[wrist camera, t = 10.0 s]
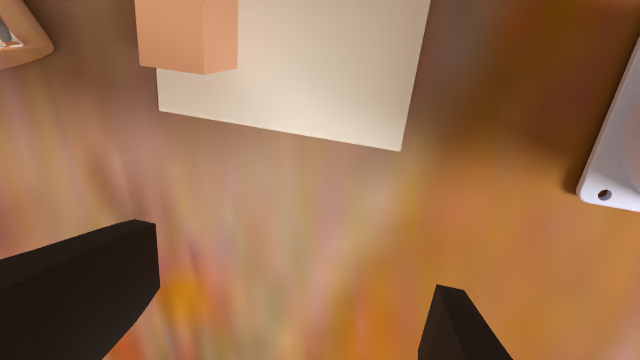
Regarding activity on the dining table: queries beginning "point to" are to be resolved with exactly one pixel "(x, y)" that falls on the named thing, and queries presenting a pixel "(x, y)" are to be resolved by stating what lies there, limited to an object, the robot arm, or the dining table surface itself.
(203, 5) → the lid
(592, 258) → the dining table surface
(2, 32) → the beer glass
